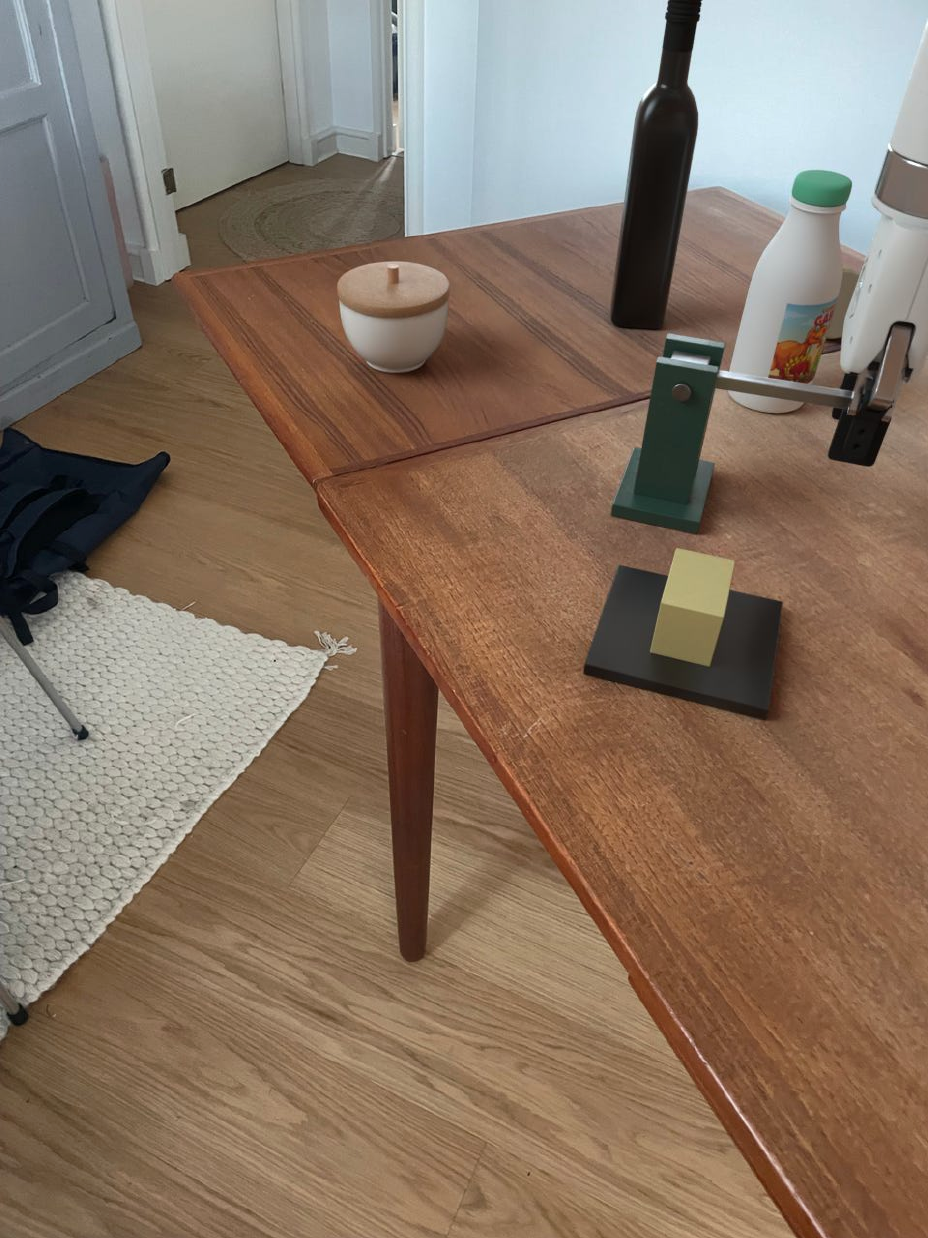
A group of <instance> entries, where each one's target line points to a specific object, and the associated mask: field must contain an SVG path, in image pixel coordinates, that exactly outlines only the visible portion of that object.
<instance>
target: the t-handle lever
mask: <svg viewBox="0 0 928 1238" xmlns="http://www.w3.org/2000/svg"><path fill="white" fill-rule="evenodd" d="M671 359H677V360H682V361H688V362H694V363H700V364H706V365H709V364H710V359H711V357H710V356H705V355H699V354H692V353H686V352H679V351H673V354H672V357H671ZM874 384H875V381H872V380H867V381H866V384H865V387H864V390H863V394H864V393H865V391H866V390H872V388H873V386H874ZM714 388H716V389H719V390H723V391H724V390H725V391H728V390H729V391H736V392H742V393H748V394H754V395H760V396H766V397H773V398H779V399H785V400H791V401H797V402H803V403H804V404H810V405H816V406H823V407H829V408H833V407H834V408H840V409H843V407H848V406H849V403H850V399H851V396H852V393H853V391H849V390H843V389H840V388H835V387H828V386H823V385H817V384H812V385H811V384H805V383H798V382H792V381H786V380H779V379H773V378H766V377H760V376H754V375H747V374H741V373H735V372H729V370H721V369H720V370H718V374H717V378H716V383H715V387H714Z"/></svg>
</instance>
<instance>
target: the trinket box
mask: <svg viewBox="0 0 928 1238" xmlns="http://www.w3.org/2000/svg"><path fill="white" fill-rule="evenodd" d="M336 289H337V298H338V300H339V312H340V318H341V323H342V327H343V331H344V333H345V336H346V338H347V340H348V343H349V344H350V346H351V347H352V348H353V350H354V351H355V353H357V355H359V356H360V357H361V358H362V359H363V360H365V362H366V364H367V365H368V366H369V367H371V368H372V369H374V370H376V371H380V372H384V373H390V374H400V373H408V372H412V371H415V370H417V369H419V368H421V367H422V366H423V365H424V364H425V363H426V361H427V360H428V359H429V358H431V356H432V355H434V353H435V352H436V350H437V349H438V347H439V346H440V345H441V342H442V340H443V338H444V335H445V332H446V329H447V324H448V316H449V299H450V293H451V284H450V281H449V279H448V278H447V276H446V275H445V274H443V272H441V271H439V270H438V269H435V268H433V267H430V266H427V265H425V264H421V263H416V262H409V261H396V260H395V261H378V262H372V263H367V264H363V265H360V266H357V267H353V268H352V269H350V270H348V271H346V272H345V273H343V274H342V276H341V277H340V278H339V279H338V281H337V284H336Z"/></svg>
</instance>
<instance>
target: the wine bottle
mask: <svg viewBox="0 0 928 1238" xmlns="http://www.w3.org/2000/svg"><path fill="white" fill-rule="evenodd" d="M702 1H703V0H667V6H666V11H665V15H664V19H665V28H664V33H663V34H664V35H663V40H662V47H661V48H662V49H661V56H660V61H659V62H660V63H659V70H658V76H657V81H656V83H654V84H653V85H652V86H651V87H649V88H648V90H646V92H645V93H644V94H643V96H642V97H641V99H640V100H639V103H638V106H637V109H636V111H635V113H636V114H635V117H634V124H633V133H632V138H631V139H632V140H631V145H630V146H631V147H630V156H629V160H628V161H629V162H628V169H627V177H626V184H625V192H624V200H623V208H622V213H621V221H620V229H619V238H618V244H617V252H616V258H615V259H616V260H615V268H614V274H613V281H612V282H613V283H612V290H611V298H610V305H609V306H610V307H609V309H610V321H611V323H612V325H614V326H617V327H621V328H632V329H633V328H635V329H647V330H648V329H650V330H651V329H652V330H658V329H660V328H662V327H663V326H664V324H665V321H666V314H667V307H668V302H669V296H670V292H671V285H672V279H673V275H674V274H673V273H674V267H675V261H676V256H677V251H678V246H679V239H680V234H681V228H682V222H683V217H684V211H685V205H686V200H687V194H688V188H689V182H690V176H691V171H692V165H693V160H694V155H695V148H696V144H697V138H698V132H699V131H698V130H699V110H698V105H697V101H696V97H695V95H694V93H693V90H692V89H691V87H690V86H689V83H688V81H689V74H690V68H691V62H692V56H693V50H694V46H695V40H696V34H697V26H698V22H699V21H700V19H701V14H700V13H701V11H702V10H701V9H702V4H703V3H702Z"/></svg>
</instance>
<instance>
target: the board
mask: <svg viewBox="0 0 928 1238" xmlns="http://www.w3.org/2000/svg"><path fill="white" fill-rule="evenodd" d="M668 576H669V575H668V574H662V573H657V572H654V571H649V570H645V569H641V568H635V567H631V566H626V565H624V564H618V565H617V567H616V571H615V573H614V576H613V579H612V583H611V585H610V588H609V591H608V593H607V598H606V599H605V603H604V605H603V608H602V611H601V614H600V617H599V619H598V623H597V626H596V628H595V632H594V634H593V637H592V641H591V642H590V643H591V644H590V647H589V649H588V652H587V655H586V658H585V660H584V663H583V671H582V673H583V675H586V676H590V677H595V678H598V679H603V680H607V681H609V682H613V683H618V684H622V685H626V686H629V687H632V688H633V687H635V688H637V689H641V690H645V691H650V692H654V693H657V694H661V695H665V696H669V697H674V698H678V699H680V700H685V701H689V702H693V703H696V704H701V705H705V706H708V707H713V708H717V709H721V710H725V711H729V712H733V713H736V714H740V715H744V716H748V717H752V718H756V719H760V720H765V721H766V719H767V717H768V714H769V711H770V704H771V698H772V689H773V682H774V675H775V666H776V659H777V652H778V645H779V638H780V637H779V636H780V629H781V622H782V614H783V606H784V601H782V600H778V599H773V598H768V597H765V596H760V595H755V594H751V593H748V592H747V593H746V592H742V591H737V590H735V589H734V590H733V589H730V590H729V595H728V600H727V605H726V610H725V615H724V619H723V623H722V626H721V630H720V633H719V637H718V640H717V644H716V647H715V651H714V654H713V657H712V661H711V664H710V666H709V667H708V666H704V665H700V664H696V663H692V662H688V661H684V660H680V659H676V658H672V657H668V656H663V655H659V654H655V653H651V652H650V650H651V645H652V641H653V636H654V632H655V627H656V623H657V618H658V614H659V609H660V605H661V601H662V597H663V594H664V590H665V586H666V583H667V579H668Z"/></svg>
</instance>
